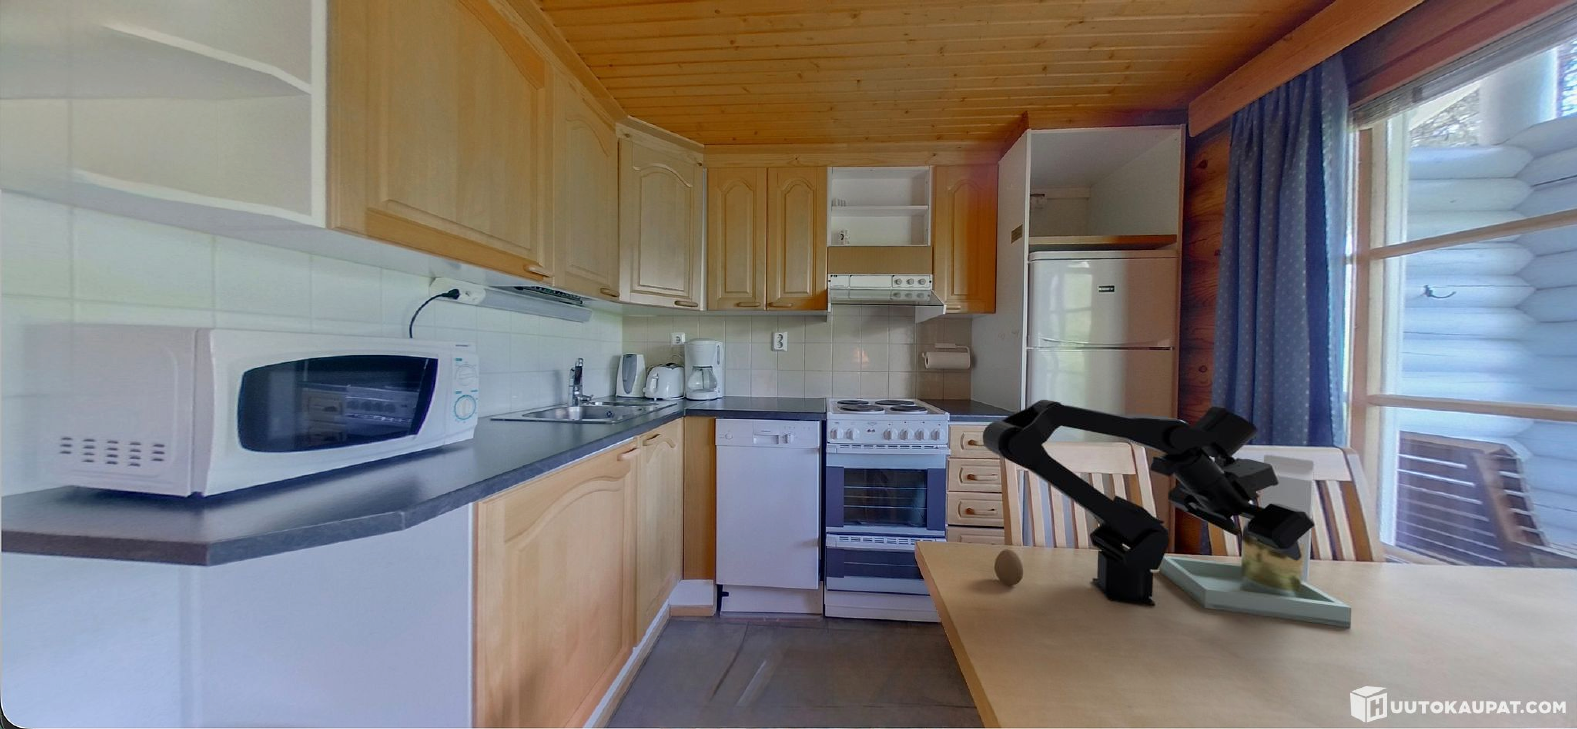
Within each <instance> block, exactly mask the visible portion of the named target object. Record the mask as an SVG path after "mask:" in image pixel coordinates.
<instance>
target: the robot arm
mask: <svg viewBox="0 0 1577 729" xmlns="http://www.w3.org/2000/svg"><path fill="white" fill-rule="evenodd" d="M1060 427H1066V428H1071V429H1076V430H1080V431H1081V430H1082V431H1085V432H1092V433H1097V434H1101V435H1106V436H1112V437H1117V438H1120V439H1122V440H1124V441H1126V442H1129V443H1132V444H1134V445H1137V446H1140V447H1144V448H1146V449H1150V450H1155V451H1158V452H1160V453H1162V454H1160V455H1159V456H1153V457H1152V462H1151V464H1150V467H1149V468H1150V471H1151V472H1153V473H1157V474H1159V475H1162V476H1166V477H1172V476H1174V478H1176V479H1177V480H1178V481H1179V483H1178V484H1176V485H1175V486H1174V487H1173V488H1171V490H1169V491H1168V493H1167V494H1168V496H1167V498H1168V499H1167V500H1168V501H1169V502H1170V503H1171V504H1172V505H1173V506H1174V507H1176V508H1178V509H1179V510H1180V509H1181V510H1182V511H1183V512H1185V513H1187V514H1189V515H1192V516H1194V517H1195V518H1198V519H1201V520H1202V521H1204V522H1206V523H1208V524H1210V525H1212V526H1215V527H1217V528H1219V529H1221V530H1223V531H1225V532H1227V533H1229V534H1232V535H1233V536H1235V537H1236V536H1238V535H1239V534H1240V533H1241V530H1240V529H1239V528H1240V527H1238V525H1237V524H1236V523H1235V521H1234V520H1233V519H1232V517H1237V516H1240V517H1243V518H1244V517H1245V518H1247V519H1250V521H1249V522H1248V531H1249V532H1250V534H1251V535H1252V536H1254V537H1255V538H1257V541H1258V542H1260V543H1262V544H1264V545H1266V546H1268V547H1270V548H1272V549H1274V550H1276V551H1278V552H1279V553H1281V554H1283V555H1285V556H1287V557H1289V558H1291V559H1293V560H1295V561H1298V560H1299V559H1300V558H1301V557H1302V555H1301V551H1300V548H1299V544H1298V541H1297V540H1298V539H1299V538H1300V537H1301V536H1303V535H1304V534H1305V533H1306V532H1307V531H1309V530H1310V529H1311V530H1312V528H1314V526H1315V523H1314V522H1315V521H1314V520H1313V518H1312V519H1311V518H1310V517H1309V516H1308V515H1307V514H1306V513H1305V512H1304V511H1300V510H1297V509H1294V508H1291V507H1288V506H1284V505H1281V504H1272V503H1270V504H1269V505H1268V506H1267V507H1265V508H1262V507H1260V505H1255V504H1252V503H1250V501H1252V502H1255V501H1256V500H1257V499H1258V498H1259V497H1260V495H1259V494H1258V492H1260V491H1261V490H1262V489H1265V488H1267V487H1270V486H1276V485H1278V484H1279V482H1278V480H1277V477H1276V475H1275V473H1274V470H1273V468H1272V465H1271V464H1268V463H1264V461H1258V460H1255V459H1250V458H1240V457H1237V458H1235V457H1233V455H1235V454H1236V453H1237V452H1238V451H1239V450H1241V449H1242V448H1243V447H1244V446H1246V444H1247V443H1249V441H1251V440H1252V439H1253V438H1254V437H1256V435H1258V433H1259V430H1258V428H1257V427H1256V426H1255V424H1254V423H1253V422H1251V421H1248V420H1247V419H1245V418H1243V417H1242V416H1240V415H1238V414H1236V413H1233V412H1231V411H1229V410H1228V409H1227V408H1226V407H1224V406H1223V407H1222V406H1215V405H1212V406H1211V407H1210V408H1209V409H1208V410H1207V411H1206V412H1205V414H1204V415H1203V416H1202V417H1200V418H1199V419H1198V420H1197V421H1195V423H1193V425H1191V426H1190V424H1189V423H1188V422H1186V421H1185V420H1182V419H1179V418H1171V417H1166V416H1161V415H1160V416H1159V415H1154V414H1147V413H1145V414H1143V413H1141V414H1139V413H1128V414H1115V413H1110V412H1106V411H1105V412H1104V411H1100V410H1095V409H1088V408H1084V407H1078V406H1074V405H1073V406H1071V405H1068V404H1064V403H1062V402H1060V401H1055V400H1049V399H1041V400H1038V401H1036V402H1034V403H1032V404H1031V405H1030V406H1028V407H1026V408H1024V409H1022V410H1020V411H1017V412H1015V413H1012V414H1010V415H1008V416H1006V417H1005V418H1003V419H1002V420H997V421H992V422H991V423H989V424H988V425H987V426H986V427H985V429H984V431H983V434H982V443H983V446H984V447H985V448H986V449H987V450H988V451H989V452H992V453H993V454H995V455H998V456H999V457H1001V458H1003V459H1005V460H1007V461H1008V462H1011V463H1012V464H1013V463H1014V464H1015V465H1018V466H1019V467H1022V468H1024V469H1026V470H1029V471H1030V472H1031V473H1033V474H1034V475H1036V476H1038V478H1040V479H1041V480H1043V481H1044V482H1045V483H1047V484H1048V485H1049V486H1051V487H1052V488H1054V489H1055V490H1057V491H1058V492H1060V493H1061V494H1063V495H1064V496H1065V497H1067V498H1068V499H1070V500H1071V501H1072V502H1074V503H1075V504H1076V505H1078V506H1079V507H1081V508H1082V509H1084V510H1085V511H1086V512H1088V513H1089V514H1091V516H1093V518H1094V519H1095V520H1096V523H1097V524H1098V525H1099V526H1097V527H1096V528H1095V529H1094V530H1093V531H1092V532H1091V533H1090V534H1089V538H1090V542H1091V544H1092V546H1094V548H1097V549H1099V550H1097V573H1096V574H1097V575H1096V577H1092V580H1091V581H1092V582H1093V583H1094V585H1095V586H1096V587H1097V588H1098V589H1099V590H1100V591H1101V593H1102V594H1103V595H1104V596H1105V597H1106V598H1107V599H1108V600H1110V601H1114V602H1121V603H1125V604H1126V603H1127V604H1128V603H1129V604H1134V605H1135V604H1136V605H1141V606H1148V607H1155V606H1156V602H1155V601H1154V600H1153V599H1152V597H1153V595H1154V594H1153V592H1154V573H1153V572H1152V571H1158V570H1160V564H1161V562H1162V559H1163V557H1164V556H1166V552H1167V550H1168V548H1169V543H1170V537H1169V536H1170V532H1169V530H1168V529H1167V528H1166V527H1165V526H1164V525H1162V524H1164V523H1165V521H1164V520H1162V519H1160V518H1158V517H1156V516H1153V515H1152V513H1150V512H1149V511H1148V510H1147V509H1145V508H1144V507H1143V506H1141V505H1138V504H1136V503H1135V502H1132V501H1130V500H1128V499H1125V498H1123V497H1121V496H1119V495H1115V496H1114V498H1113V499H1111V498H1110V497H1108V496H1107V495H1105V494H1104V493H1102V491H1100V490H1098V489H1097V488H1095V487H1094V486H1093V485H1091V484H1090V483H1088V482H1087V481H1086V480H1084V479H1082V478H1081V477H1080V476H1079V475H1077V474H1076V473H1074V472H1073V471H1072V470H1070V469H1069V468H1067V467H1065V465H1063V464H1062V463H1061V462H1059V461H1057V460H1056V459H1054V458H1053V457H1052V456H1050V454H1049V453H1048V451H1047V450H1046V448H1045V447H1044V443H1046V442H1047V441H1048V440H1049V439H1050V438H1051V436H1052V435H1053V433H1054V432H1055V431H1056V430H1057V429H1058V428H1060ZM1212 458H1214V460H1213V459H1212Z"/></svg>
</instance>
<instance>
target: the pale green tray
mask: <svg viewBox="0 0 1577 729" xmlns="http://www.w3.org/2000/svg"><path fill="white" fill-rule="evenodd" d="M1159 572H1160V573H1161V574H1163V575H1164V576H1165V577H1166V578H1168V579H1169V580H1170V581H1171V582H1172V583H1174V585H1176V586H1177V587H1178V588H1180V589H1181V590H1183V591H1184V592H1185V593H1186V594H1187V595H1189V596H1190V597H1191V598H1193V599H1194V600H1195V601H1196V602H1197V603H1198V604H1200V605H1201V606H1202V607H1203V608H1204V609H1212V610H1218V611H1227V612H1234V613H1242V614H1249V615H1255V616H1256V615H1257V616H1262V617H1263V616H1264V617H1271V618H1278V619H1284V620H1285V619H1286V620H1293V621H1301V622H1306V623H1313V624H1323V625H1331V626H1337V627H1345V628H1351V626H1352V607H1351V606H1349V605H1347V604H1345V603H1344V602H1341V601H1340V600H1338V599H1336V598H1335V597H1333V596H1331V595H1329V594H1327V593H1325V592H1324V591H1322V590H1320V589H1318V588H1316V587H1315V586H1313V585H1311V584H1309V583H1305V582H1304V581H1302V590H1301V598H1293V597H1285V596H1277V595H1269V594H1261V593H1254V592H1246V591H1244V590H1243V589H1242V588H1241V563H1234V562H1233V563H1231V562H1223V561H1214V560H1206V559H1205V560H1204V559H1199V558H1197V559H1196V558H1189V557H1187V558H1186V557H1181V556H1180V557H1179V556H1173V555H1172V556H1170V555H1169V556H1168V555H1164V557H1163V559H1162V562H1161V564H1160V566H1159Z"/></svg>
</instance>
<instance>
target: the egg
mask: <svg viewBox="0 0 1577 729" xmlns="http://www.w3.org/2000/svg"><path fill="white" fill-rule="evenodd" d="M994 561H995V562H994V567H993V568H994V573H995V574H996V577H997V578H998V580H1000V582H1001V583H1002V584H1004V585H1007V586H1015V585H1018V584H1019V583H1020V582H1021V581H1022V579H1023V575H1024V567H1023V563H1022V561H1021V559H1020V557H1019V555H1018V554H1017V553H1016V552H1015V551H1014V550H1012V549H1009V548H1007V549H1003V550H1001V551H1000V552H999V553H998V555H997V556H996V558H995V560H994Z"/></svg>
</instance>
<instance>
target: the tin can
mask: <svg viewBox="0 0 1577 729" xmlns="http://www.w3.org/2000/svg"><path fill="white" fill-rule="evenodd" d="M1249 521H1250V519H1247V518H1245V517H1243V521H1242V522H1243V523H1242V524H1243V526H1242V535H1241V537H1242V538H1241V539H1242V540H1241V557H1240V558H1241V561H1240V562H1241V563H1240V564H1241V588H1242V589H1243V590H1244V591H1246V592H1254V593H1261V594H1269V595H1277V596H1285V597H1293V598H1301V590H1302V576H1303V555H1304V535H1303V536H1301V537H1300V538H1299V539H1298V540H1297V541H1298V544H1299V548H1300V551H1301V555H1302V557H1301V558H1300V559H1299V560H1298V561H1295V560H1293V559H1291V558H1289V557H1287V556H1285V555H1283V554H1281V553H1279V552H1278V551H1276V550H1274V549H1272V548H1270V547H1268V546H1266V545H1264V544H1262V543H1260V542H1258V541H1257V538H1255V537H1254V536H1252V535H1251V534H1250V532H1249V531H1248V522H1249Z"/></svg>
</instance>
